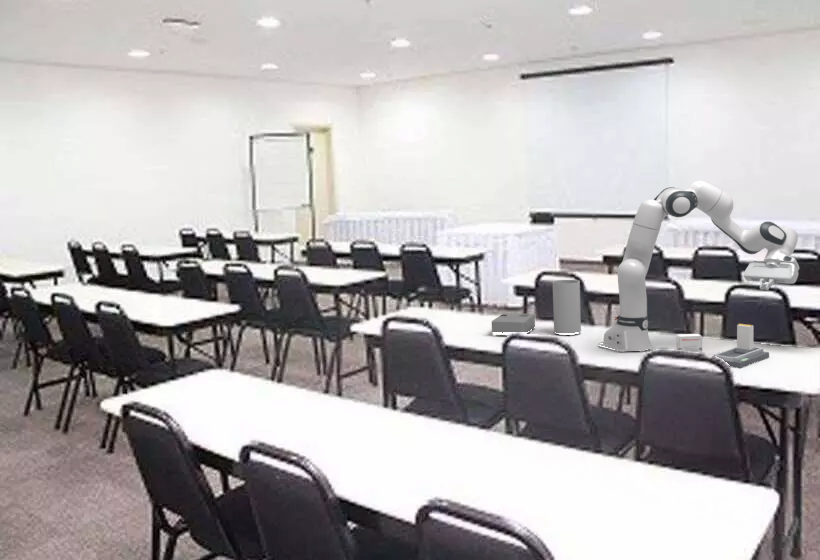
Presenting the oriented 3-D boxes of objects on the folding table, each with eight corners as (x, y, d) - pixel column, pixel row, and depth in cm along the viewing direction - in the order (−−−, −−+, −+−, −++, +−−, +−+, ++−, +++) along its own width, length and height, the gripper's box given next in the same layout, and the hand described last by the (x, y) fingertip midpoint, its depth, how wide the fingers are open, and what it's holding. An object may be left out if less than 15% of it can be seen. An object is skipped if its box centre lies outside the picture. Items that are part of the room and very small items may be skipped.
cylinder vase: (559, 330, 361) (557, 279, 358) (584, 331, 355) (582, 280, 352) (550, 335, 350) (548, 283, 347) (576, 336, 344) (575, 283, 341)
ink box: (699, 363, 286) (699, 333, 285) (702, 366, 281) (702, 335, 280) (676, 363, 287) (675, 333, 286) (679, 366, 282) (679, 336, 281)
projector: (535, 328, 369) (535, 313, 368) (525, 338, 349) (524, 321, 348) (503, 328, 375) (502, 312, 374) (491, 337, 355) (490, 321, 354)
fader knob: (735, 351, 291) (735, 324, 290) (740, 349, 294) (740, 322, 292) (750, 353, 287) (750, 326, 285) (755, 352, 289) (755, 324, 288)
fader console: (707, 362, 286) (707, 354, 285) (737, 352, 299) (737, 344, 299) (740, 368, 276) (740, 359, 275) (769, 357, 289) (769, 348, 289)
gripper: (748, 256, 307) (735, 282, 302) (798, 258, 291) (786, 286, 286) (753, 265, 310) (741, 291, 306) (803, 268, 294) (791, 295, 290)
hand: (763, 289), depth 296 cm, fingers closed
